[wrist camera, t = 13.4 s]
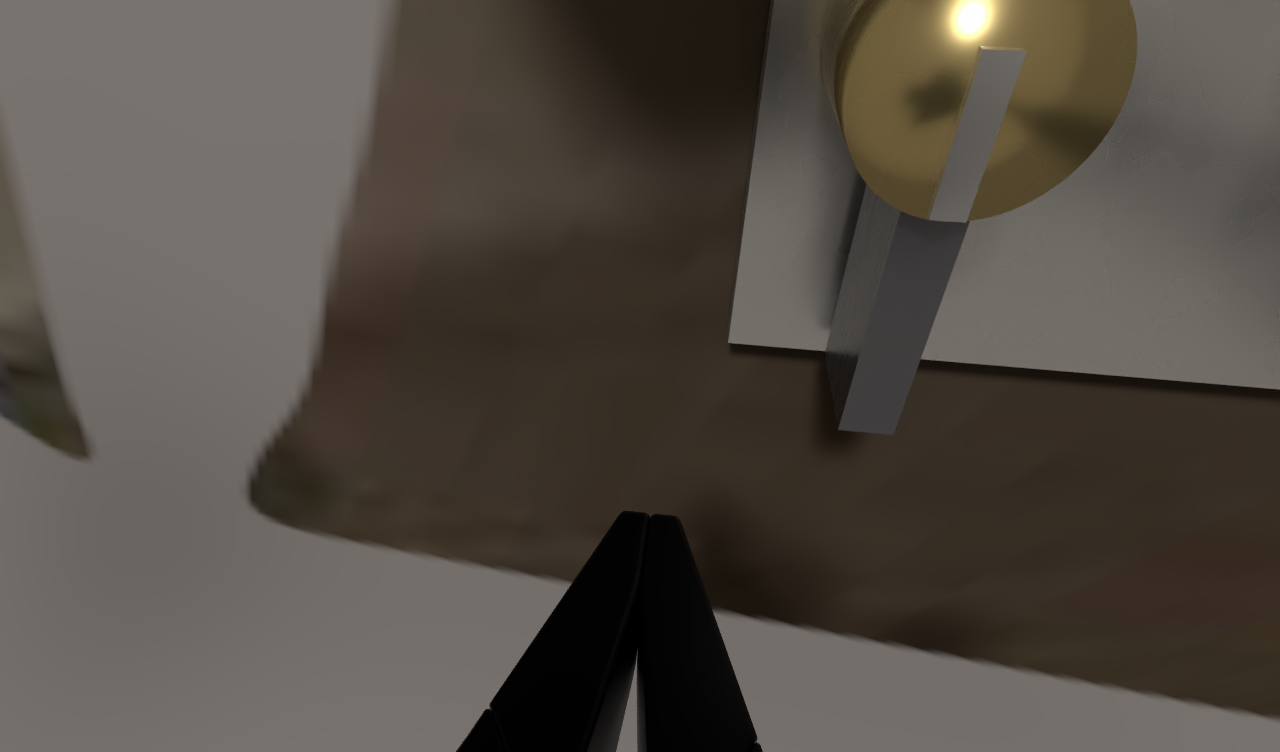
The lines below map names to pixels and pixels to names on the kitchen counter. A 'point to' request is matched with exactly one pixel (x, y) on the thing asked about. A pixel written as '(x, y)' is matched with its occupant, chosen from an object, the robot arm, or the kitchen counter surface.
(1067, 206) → the base plate
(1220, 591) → the kitchen counter surface
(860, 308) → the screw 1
